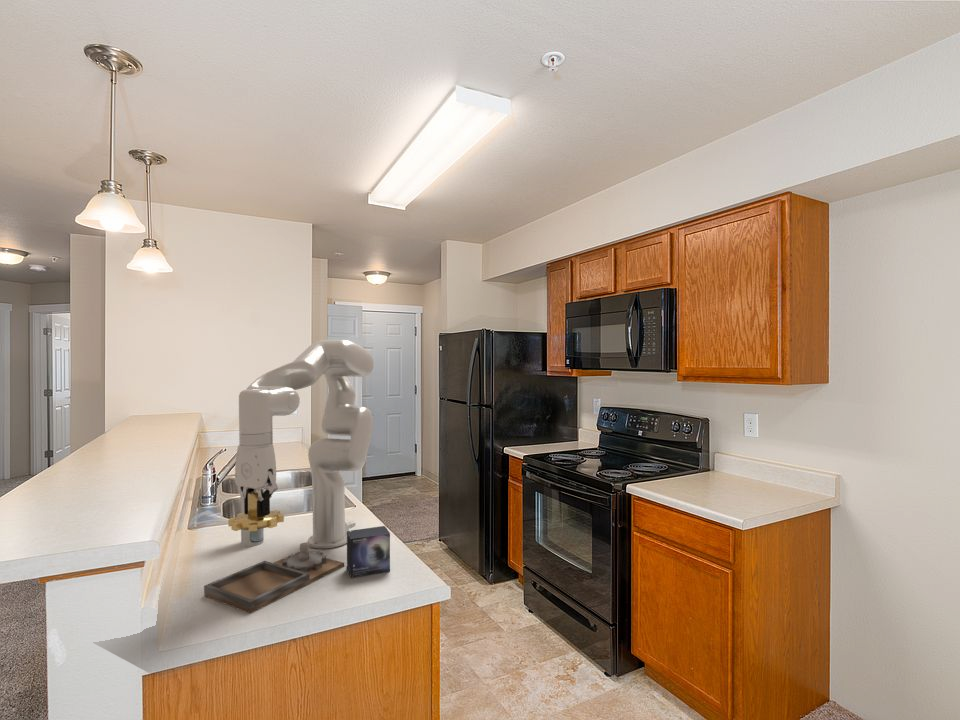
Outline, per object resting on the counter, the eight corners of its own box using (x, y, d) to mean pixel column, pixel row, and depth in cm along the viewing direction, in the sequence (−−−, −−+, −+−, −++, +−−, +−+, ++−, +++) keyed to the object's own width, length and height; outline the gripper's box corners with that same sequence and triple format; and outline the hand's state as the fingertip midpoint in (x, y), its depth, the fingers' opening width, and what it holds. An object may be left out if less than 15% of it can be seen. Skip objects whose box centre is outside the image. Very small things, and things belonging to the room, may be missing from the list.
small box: (350, 579, 133) (350, 538, 133) (346, 569, 139) (345, 530, 139) (391, 571, 138) (390, 532, 137) (385, 562, 144) (384, 524, 143)
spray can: (251, 538, 163) (250, 474, 163) (268, 540, 161) (267, 476, 161) (236, 545, 157) (235, 479, 157) (253, 547, 155) (252, 481, 155)
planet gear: (261, 512, 136) (261, 484, 136) (294, 520, 129) (294, 490, 129) (217, 526, 125) (217, 495, 125) (251, 534, 119) (250, 502, 119)
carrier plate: (300, 554, 150) (300, 532, 149) (344, 566, 141) (343, 542, 141) (204, 596, 124) (203, 569, 124) (250, 613, 116) (249, 584, 116)
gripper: (220, 439, 128) (221, 513, 128) (265, 444, 120) (266, 524, 120) (247, 435, 134) (248, 505, 135) (292, 440, 126) (293, 515, 126)
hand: (257, 513), depth 127 cm, fingers closed on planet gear, 4 cm apart
